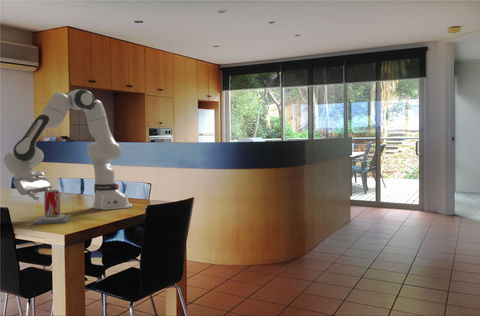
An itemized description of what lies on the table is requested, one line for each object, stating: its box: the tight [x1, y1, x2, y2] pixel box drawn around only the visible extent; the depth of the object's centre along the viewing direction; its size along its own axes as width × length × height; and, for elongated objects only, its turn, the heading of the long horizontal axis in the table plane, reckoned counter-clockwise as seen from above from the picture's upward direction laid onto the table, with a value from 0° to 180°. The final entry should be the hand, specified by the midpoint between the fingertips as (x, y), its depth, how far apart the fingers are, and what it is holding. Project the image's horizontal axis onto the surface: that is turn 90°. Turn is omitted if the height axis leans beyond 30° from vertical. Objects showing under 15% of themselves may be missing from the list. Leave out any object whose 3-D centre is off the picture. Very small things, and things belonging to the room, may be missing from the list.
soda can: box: [43, 189, 61, 217], centre depth 212 cm, size 7×7×13 cm
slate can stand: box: [33, 213, 72, 225], centre depth 212 cm, size 15×15×2 cm
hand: (43, 197), depth 213 cm, fingers open, 8 cm apart
